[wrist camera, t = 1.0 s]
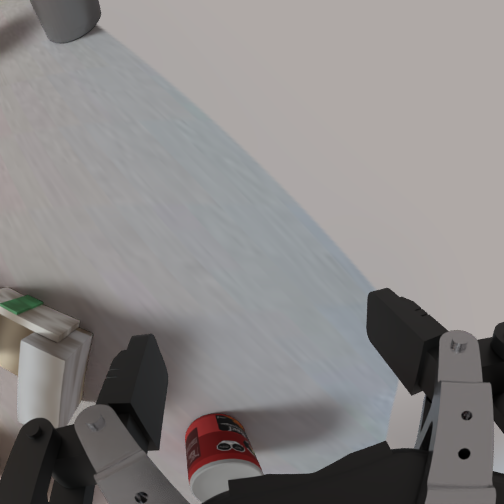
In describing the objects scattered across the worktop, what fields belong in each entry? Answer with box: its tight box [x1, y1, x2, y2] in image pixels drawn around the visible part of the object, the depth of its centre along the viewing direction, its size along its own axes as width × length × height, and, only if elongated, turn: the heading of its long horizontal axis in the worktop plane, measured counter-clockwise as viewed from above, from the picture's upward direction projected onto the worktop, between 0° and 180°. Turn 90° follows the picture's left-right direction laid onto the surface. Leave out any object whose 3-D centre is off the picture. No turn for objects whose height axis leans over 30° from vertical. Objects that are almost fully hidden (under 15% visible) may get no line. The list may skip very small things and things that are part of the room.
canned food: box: [185, 414, 264, 503], centre depth 29 cm, size 8×8×11 cm
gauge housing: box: [0, 287, 93, 428], centre depth 24 cm, size 18×11×10 cm, turn 71°
